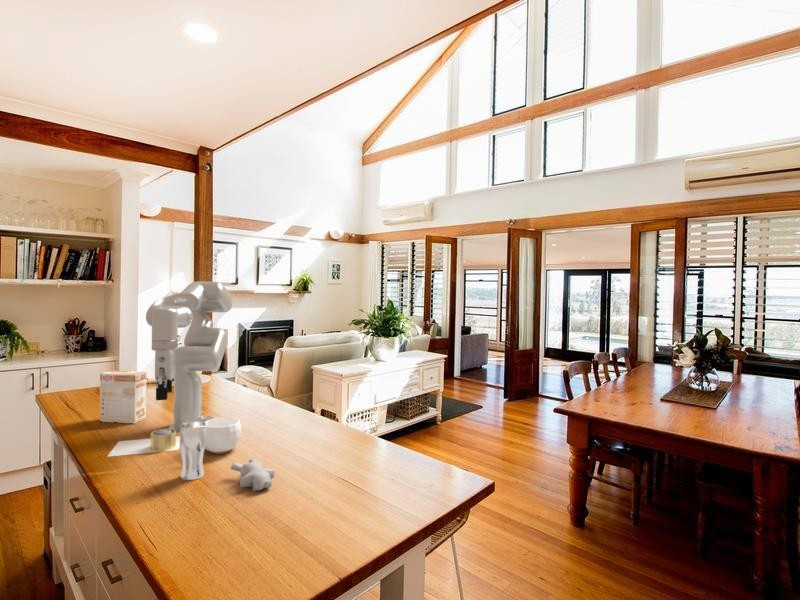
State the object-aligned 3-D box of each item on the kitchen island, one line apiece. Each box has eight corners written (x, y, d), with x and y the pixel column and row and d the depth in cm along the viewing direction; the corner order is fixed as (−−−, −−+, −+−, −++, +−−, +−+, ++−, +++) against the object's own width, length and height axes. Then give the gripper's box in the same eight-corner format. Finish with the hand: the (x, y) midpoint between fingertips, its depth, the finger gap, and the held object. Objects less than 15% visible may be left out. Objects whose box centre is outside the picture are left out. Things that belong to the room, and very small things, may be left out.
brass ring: (176, 442, 147) (177, 427, 147) (173, 449, 140) (174, 434, 140) (153, 444, 144) (153, 429, 144) (148, 452, 138) (149, 436, 138)
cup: (192, 454, 139) (192, 425, 139) (219, 442, 151) (220, 414, 151) (222, 460, 135) (222, 430, 135) (248, 447, 147) (248, 419, 147)
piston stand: (183, 438, 153) (183, 421, 153) (178, 452, 140) (178, 434, 140) (118, 444, 146) (118, 426, 146) (106, 459, 133) (107, 440, 133)
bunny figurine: (248, 482, 112) (227, 458, 123) (246, 500, 113) (226, 474, 124) (281, 472, 118) (259, 450, 129) (280, 490, 119) (257, 466, 130)
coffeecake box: (146, 418, 174) (147, 371, 174) (134, 424, 167) (134, 374, 167) (112, 416, 176) (113, 369, 175) (98, 422, 169) (99, 373, 168)
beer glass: (179, 472, 126) (180, 422, 125) (205, 469, 128) (206, 419, 128) (178, 482, 119) (178, 429, 119) (205, 479, 122) (206, 427, 122)
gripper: (173, 348, 135) (173, 402, 135) (180, 341, 151) (180, 389, 151) (146, 349, 132) (145, 403, 133) (156, 341, 148) (156, 390, 149)
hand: (164, 396), depth 142 cm, fingers open, 9 cm apart
